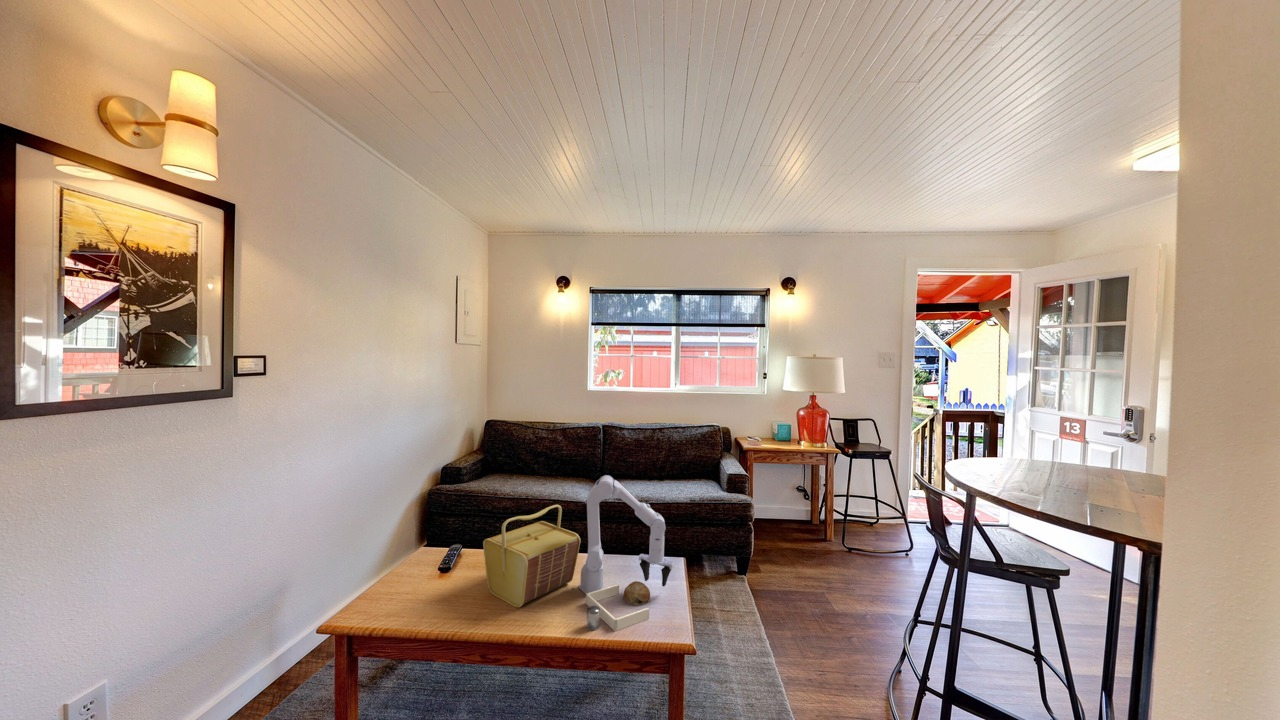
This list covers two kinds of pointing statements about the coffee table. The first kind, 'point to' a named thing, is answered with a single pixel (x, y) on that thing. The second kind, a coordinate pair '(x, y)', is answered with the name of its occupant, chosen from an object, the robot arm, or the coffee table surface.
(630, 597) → the bread roll
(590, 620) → the grey tin
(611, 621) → the cream low open frame
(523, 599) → the picnic basket
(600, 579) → the robot arm
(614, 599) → the coffee table surface
